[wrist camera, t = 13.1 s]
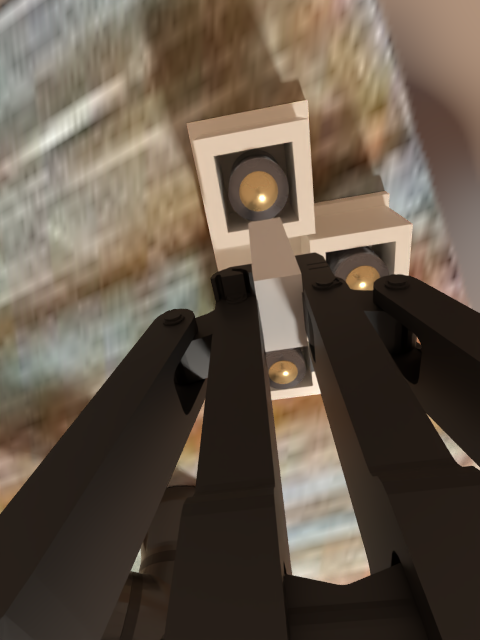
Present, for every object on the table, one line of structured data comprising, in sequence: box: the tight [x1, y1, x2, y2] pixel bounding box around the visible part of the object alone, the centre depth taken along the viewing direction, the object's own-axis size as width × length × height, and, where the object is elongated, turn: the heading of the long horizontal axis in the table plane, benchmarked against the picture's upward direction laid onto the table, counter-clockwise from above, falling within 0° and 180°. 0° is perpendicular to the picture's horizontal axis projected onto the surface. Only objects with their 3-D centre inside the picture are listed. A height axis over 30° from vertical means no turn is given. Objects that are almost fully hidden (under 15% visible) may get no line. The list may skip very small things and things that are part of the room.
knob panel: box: [186, 100, 413, 400], centre depth 34 cm, size 17×27×7 cm, turn 10°
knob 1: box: [228, 150, 289, 222], centre depth 28 cm, size 4×4×6 cm
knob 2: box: [266, 347, 306, 389], centre depth 37 cm, size 4×4×6 cm
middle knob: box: [325, 246, 389, 290], centre depth 32 cm, size 4×4×6 cm
